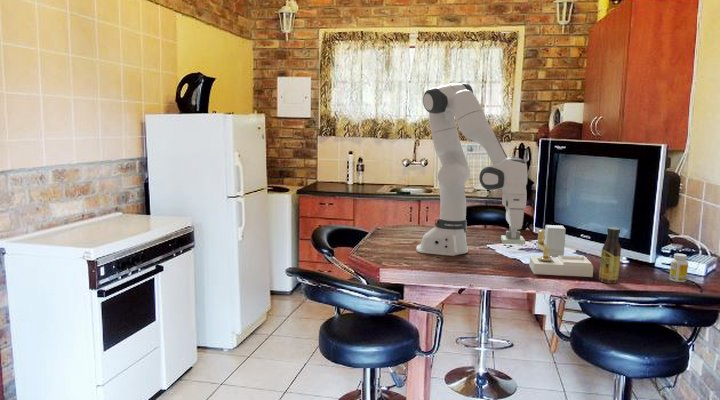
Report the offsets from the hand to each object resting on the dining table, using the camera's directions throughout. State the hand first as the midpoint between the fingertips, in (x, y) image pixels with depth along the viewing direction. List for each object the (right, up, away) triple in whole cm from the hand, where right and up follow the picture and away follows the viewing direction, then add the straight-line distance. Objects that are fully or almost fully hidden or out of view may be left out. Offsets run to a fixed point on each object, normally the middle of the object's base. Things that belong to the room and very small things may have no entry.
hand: (512, 236), depth 208 cm
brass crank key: (+13, -9, +3) cm, 16 cm away
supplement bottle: (+58, -16, -9) cm, 60 cm away
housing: (+18, -13, +1) cm, 23 cm away
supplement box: (+24, -10, +25) cm, 36 cm away
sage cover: (0, -2, 0) cm, 2 cm away
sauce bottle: (+31, -16, -12) cm, 37 cm away
